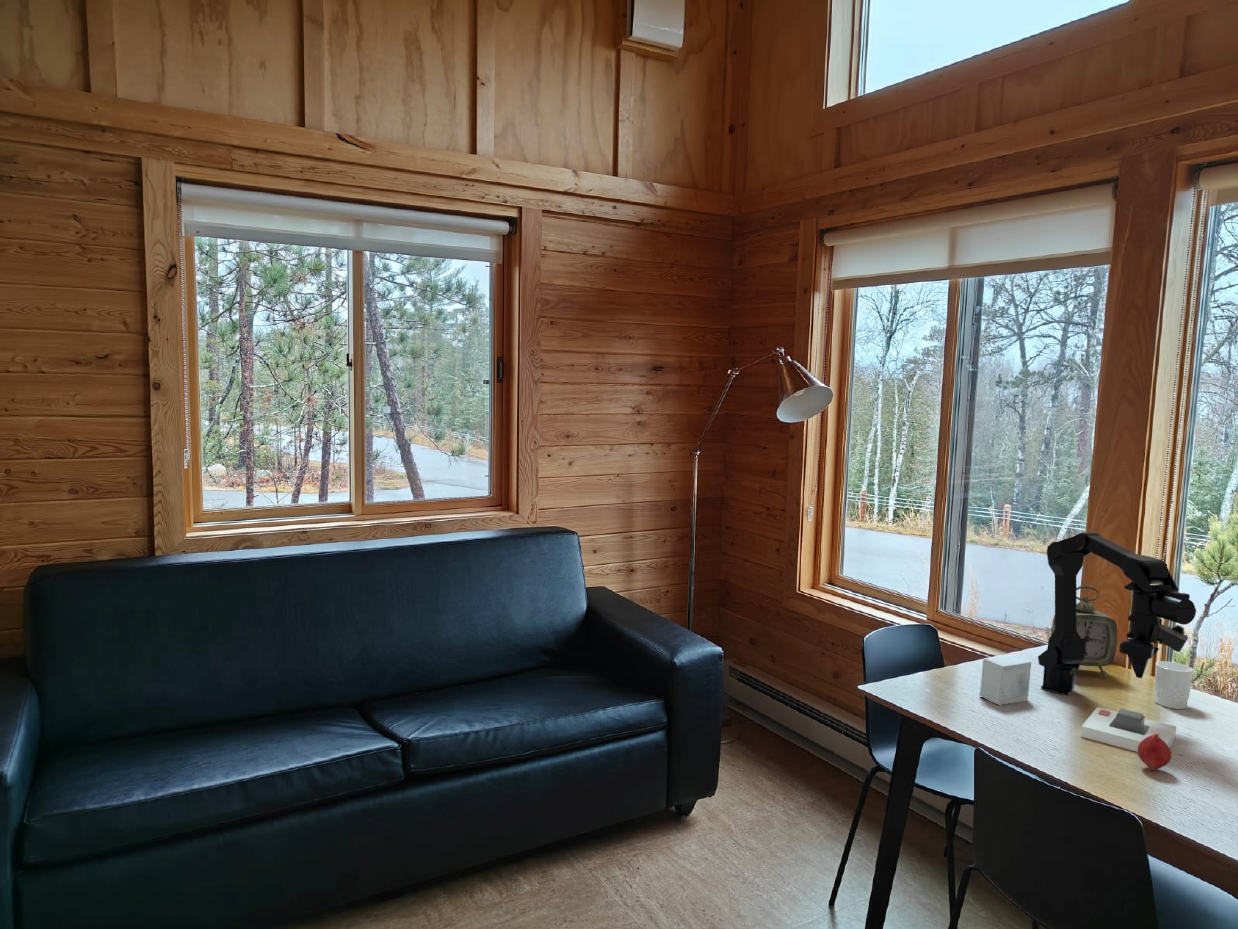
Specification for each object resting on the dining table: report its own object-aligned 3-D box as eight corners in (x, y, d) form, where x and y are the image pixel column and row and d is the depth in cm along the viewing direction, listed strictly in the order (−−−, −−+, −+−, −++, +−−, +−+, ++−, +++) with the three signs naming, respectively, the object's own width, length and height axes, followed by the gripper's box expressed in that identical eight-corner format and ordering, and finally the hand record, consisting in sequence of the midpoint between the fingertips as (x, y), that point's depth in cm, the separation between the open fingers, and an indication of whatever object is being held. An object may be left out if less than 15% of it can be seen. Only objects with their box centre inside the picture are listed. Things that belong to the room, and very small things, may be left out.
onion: (1129, 763, 172) (1132, 727, 171) (1155, 763, 172) (1158, 727, 172) (1149, 776, 166) (1153, 739, 165) (1176, 776, 167) (1179, 738, 166)
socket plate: (1080, 736, 185) (1081, 724, 185) (1096, 717, 197) (1097, 706, 197) (1164, 759, 175) (1165, 746, 174) (1175, 737, 187) (1176, 725, 186)
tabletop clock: (1058, 676, 226) (1065, 588, 224) (1045, 665, 235) (1052, 580, 233) (1113, 680, 224) (1121, 591, 222) (1099, 669, 233) (1106, 583, 231)
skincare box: (999, 706, 202) (1002, 665, 201) (978, 697, 208) (981, 657, 207) (1029, 701, 206) (1032, 661, 206) (1008, 692, 212) (1010, 653, 211)
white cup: (1195, 712, 202) (1199, 673, 202) (1160, 708, 204) (1164, 670, 203) (1180, 700, 210) (1184, 662, 209) (1146, 697, 212) (1150, 660, 211)
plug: (1114, 733, 186) (1116, 712, 185) (1117, 728, 189) (1119, 707, 188) (1139, 740, 183) (1141, 718, 182) (1143, 735, 186) (1145, 713, 185)
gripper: (1180, 627, 177) (1174, 697, 178) (1192, 612, 191) (1186, 676, 192) (1121, 617, 184) (1116, 684, 186) (1136, 603, 198) (1131, 665, 200)
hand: (1139, 677), depth 191 cm, fingers closed
